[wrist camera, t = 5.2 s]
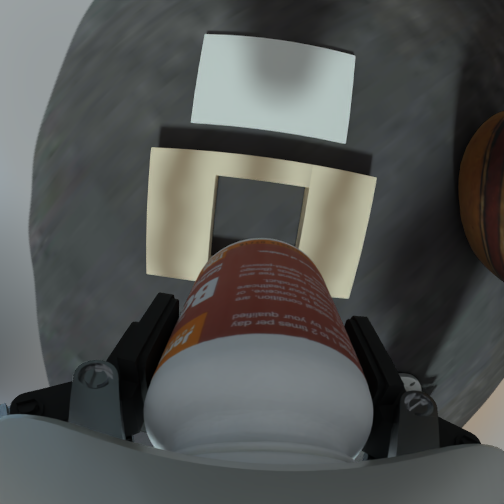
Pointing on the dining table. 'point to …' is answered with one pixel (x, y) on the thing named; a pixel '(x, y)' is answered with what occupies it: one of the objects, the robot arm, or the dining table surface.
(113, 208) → the dining table surface
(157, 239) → the wooden rectangular frame
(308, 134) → the mat
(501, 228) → the ceramic pitcher
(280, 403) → the pill bottle
